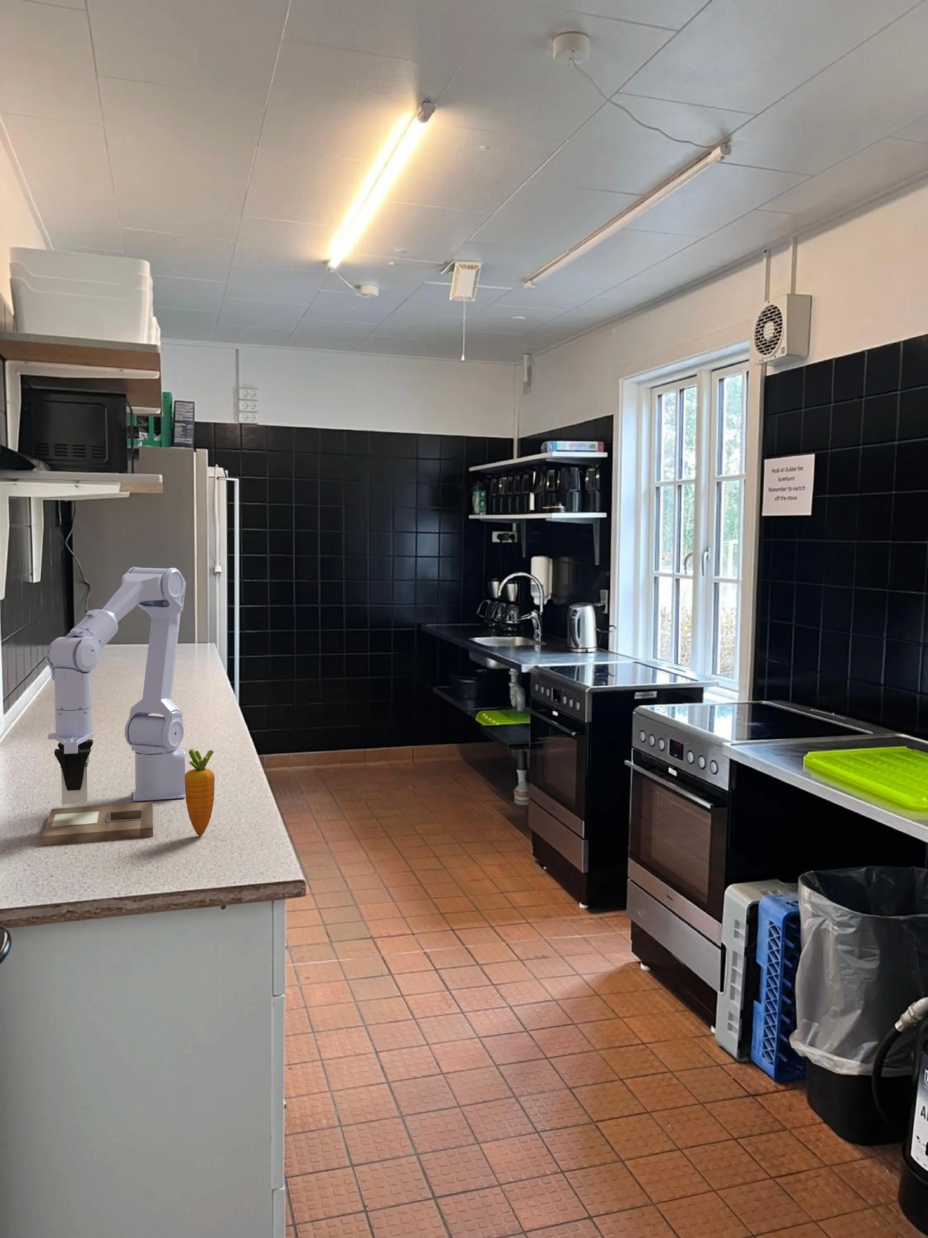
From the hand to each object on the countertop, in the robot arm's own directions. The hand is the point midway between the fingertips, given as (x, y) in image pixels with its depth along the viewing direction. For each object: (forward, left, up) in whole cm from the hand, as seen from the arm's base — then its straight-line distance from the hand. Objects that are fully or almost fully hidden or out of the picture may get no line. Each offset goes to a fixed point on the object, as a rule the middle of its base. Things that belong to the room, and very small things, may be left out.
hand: (75, 786), depth 160 cm
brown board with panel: (-4, 0, -7) cm, 8 cm away
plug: (0, 0, -2) cm, 2 cm away
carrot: (-20, +10, -8) cm, 24 cm away
